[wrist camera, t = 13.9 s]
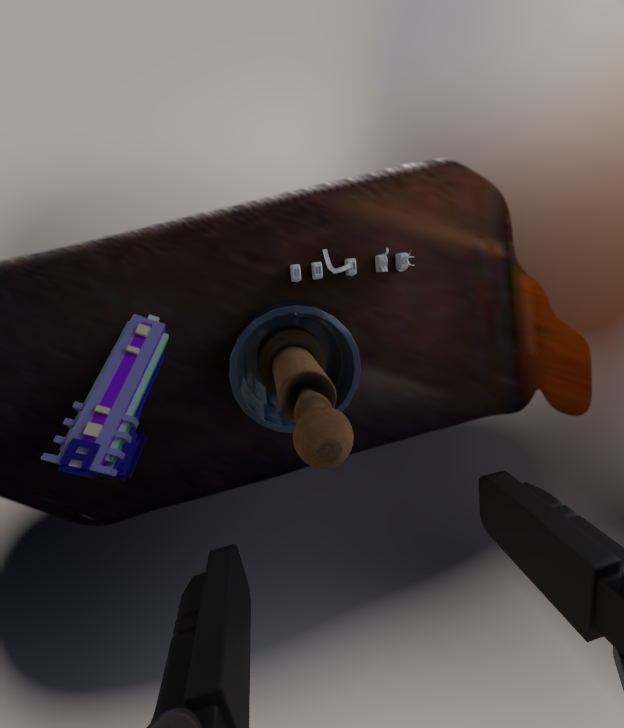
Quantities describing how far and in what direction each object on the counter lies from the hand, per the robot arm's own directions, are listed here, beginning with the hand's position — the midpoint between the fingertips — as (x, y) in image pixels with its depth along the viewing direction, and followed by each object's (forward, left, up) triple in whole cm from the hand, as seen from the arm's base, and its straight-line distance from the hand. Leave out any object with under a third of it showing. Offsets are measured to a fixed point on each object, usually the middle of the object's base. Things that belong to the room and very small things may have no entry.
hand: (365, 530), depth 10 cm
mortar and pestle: (0, 0, -23) cm, 23 cm away
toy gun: (-15, 0, -24) cm, 28 cm away
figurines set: (+8, +8, -24) cm, 26 cm away
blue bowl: (0, 0, -24) cm, 24 cm away
